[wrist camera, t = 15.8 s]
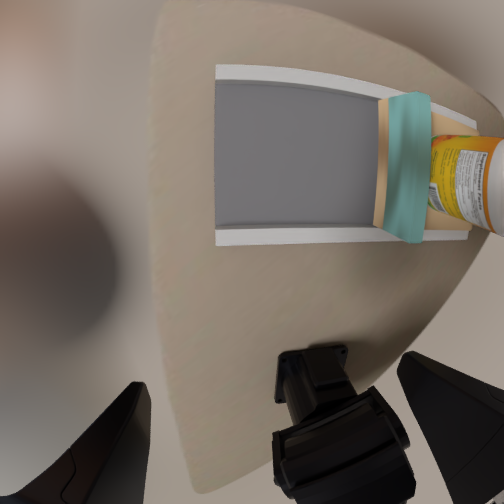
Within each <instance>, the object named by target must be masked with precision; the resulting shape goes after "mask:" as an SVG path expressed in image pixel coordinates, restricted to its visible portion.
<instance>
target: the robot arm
mask: <svg viewBox="0 0 504 504" xmlns="http://www.w3.org/2000/svg"><path fill="white" fill-rule="evenodd" d="M342 350H343V351H342ZM347 354H348V348H347V347H346V345H340V346H334V347H327V348H320V349H313V350H306V351H298V352H289V353H282V354H280V355H279V356H278V363H277V374H276V385H275V396H274V399H275V402H276V403H278V404H280V403H287V406H288V409H289V413H290V416H291V419H292V422H293V425H294V426H291V427H289V428H286V429H284V430H281V431H279V430H278V431H276V432H273V433H272V435H273V441H272V452H273V468H274V469H273V470H274V483H275V485H277V486H279V487H281V489H282V491H283V492H284V494H285V495H286V496H287V497H288V498H289V499H295V501H296V502H297V504H406V503H407V500H408V499H410V498H412V497H414V494H415V489H416V481H415V478H414V473H413V470H412V468H411V466H410V463H409V461H408V458H407V456H406V454H405V452H404V450H405V449H407V448H408V447H410V441H409V438H408V435H407V433H406V430H405V428H404V427H403V424H402V423H401V421H400V419H399V417H398V416H397V415H396V413H395V412H394V410H393V409H392V408H391V407H390V405H389V404H388V403H387V402H386V400H385V399H384V398H383V397H382V395H381V394H380V393H379V392H378V390H377V389H376V388H375V387H374V386H371V387H370V388H368V390H366V391H365V392H363V393H361V394H359V395H358V394H357V393H356V391H355V389H354V387H353V386H352V384H351V382H350V380H349V377H348V375H347V374H346V372H345V370H344V365H345V361H346V358H347ZM283 358H286V359H284V360H283ZM397 375H398V378H399V380H400V383H401V385H402V388H403V390H404V393H405V396H406V398H407V401H408V403H409V406H410V407H411V410H412V412H413V414H414V416H415V418H416V420H417V422H418V424H419V426H420V428H421V430H422V432H423V434H424V436H425V438H426V440H427V443H428V445H429V447H430V449H431V451H432V454H433V456H434V458H435V460H436V462H437V465H438V467H439V469H440V472H441V474H442V476H443V479H444V481H445V483H446V486H447V489H448V491H449V494H450V496H451V498H452V501H453V504H485V503H487V502H488V501H489V500H491V499H492V498H493V500H494V501H493V502H492V503H491V504H504V390H502V389H499V388H497V387H494V386H492V385H490V384H487V383H484V382H482V381H480V380H478V379H475V378H473V377H471V376H468V375H466V374H464V373H462V372H460V371H457V370H455V369H453V368H451V367H448V366H446V365H444V364H442V363H439V362H437V361H435V360H433V359H430V358H428V357H426V356H424V355H422V354H419V353H417V352H415V351H409V352H406V353H404V354H403V355H402V358H401V360H400V363H399V365H398V368H397ZM150 426H151V399H150V395H149V393H148V390H147V387H146V384H145V383H144V382H135V381H134V382H131V383H130V384H129V385H128V386H127V387H126V388H125V389H124V391H123V392H122V393H121V394H120V395H119V396H118V397H117V398H116V399H115V400H114V401H113V402H112V403H111V404H110V405H109V406H108V407H107V408H106V409H105V411H104V412H103V413H102V414H101V415H100V416H99V417H98V418H97V419H96V420H95V421H94V422H93V423H92V424H91V425H90V426H89V427H88V428H87V429H86V431H84V433H83V434H82V435H81V436H80V437H79V438H78V439H77V440H76V441H75V442H74V443H73V444H72V445H71V447H70V448H68V449H67V450H66V451H65V452H64V453H63V454H62V455H61V457H59V458H58V459H57V460H56V461H55V462H54V463H53V464H52V465H51V466H50V467H49V468H47V469H46V470H45V471H44V472H43V473H41V474H40V475H39V476H38V477H36V478H35V479H34V480H33V481H31V482H30V483H29V484H28V485H26V486H25V487H24V488H23V489H21V490H19V491H18V492H16V493H14V494H11V495H8V496H0V504H143V499H144V489H145V480H146V472H147V464H148V456H149V449H150Z"/></svg>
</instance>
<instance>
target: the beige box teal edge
mask: <svg viewBox="0 0 504 504" xmlns="http://www.w3.org/2000/svg"><path fill="white" fill-rule="evenodd" d="M378 111H379V142H378V170H377V186H376V199H375V210H374V220H373V225H374V226H376V227H378V228H380V229H382V230H384V231H386V232H388V233H390V234H392V235H394V236H396V237H398V238H400V239H402V240H404V241H406V242H408V243H422V239H423V233H424V230H461V231H472V225H473V224H471V223H468V222H465V221H463V220H460V219H457V218H454V217H452V216H449V215H446V214H443V213H440V212H438V211H435V210H433V209H431V208H430V207H428V206H427V203H428V194H429V182H430V167H431V137H432V136H435V135H470V136H479V131H478V130H476V129H474V128H471V127H469V126H467V125H465V124H462V123H460V122H458V121H455V120H453V119H450V118H448V117H445V116H443V115H440V114H437V113H435V112H432V111H431V102H430V96H429V95H426V94H424V93H421V92H418V91H416V92H411V93H407V94H402V95H398V96H394V97H390V98H386V99H382V100H378Z"/></svg>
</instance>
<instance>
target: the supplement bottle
mask: <svg viewBox="0 0 504 504" xmlns="http://www.w3.org/2000/svg"><path fill="white" fill-rule="evenodd" d="M427 206H428V207H430V208H431V209H433V210H435V211H438V212H440V213H443V214H446V215H449V216H452V217H454V218H457V219H460V220H463V221H465V222H468V223H471V224H473V225H476V226H478V227H481V228H483V229H486V230H488V231H491V232H493V233H495V234H498V235H500V236H503V237H504V138H497V137H485V136H470V135H435V136H432V137H431V167H430V182H429V194H428V203H427Z"/></svg>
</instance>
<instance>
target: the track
mask: <svg viewBox="0 0 504 504" xmlns="http://www.w3.org/2000/svg"><path fill="white" fill-rule="evenodd" d="M402 94H407V93H405V92H401V91H398V90H395V89H392V88H388V87H385V86H381V85H377V84H374V83H370V82H366V81H361V80H357V79H353V78H348V77H343V76H338V75H333V74H327V73H321V72H315V71H308V70H301V69H293V68H284V67H272V66H258V65H216V80H215V147H214V160H215V230H216V246H232V245H264V244H299V243H336V242H379V241H404V240H402V239H400V238H398V237H396V236H394V235H392V234H390V233H388V232H386V231H384V230H382V229H380V228H378V227H376V226H374V225H373V220H374V210H375V199H376V186H377V170H378V142H379V111H378V100H382V99H386V98H390V97H394V96H398V95H402ZM431 111H432V112H435V113H437V114H440V115H443V116H445V117H448V118H450V119H453V120H455V121H458V122H460V123H462V124H465V125H467V126H469V127H471V128H474V129H476V121H474V120H472V119H470V118H468V117H466V116H464V115H462V114H459V113H457V112H455V111H453V110H450V109H448V108H445V107H443V106H441V105H438V104H435V103H433V102H431ZM468 233H469V231H461V230H424V233H423V239H422V241H429V240H467V239H468Z"/></svg>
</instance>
